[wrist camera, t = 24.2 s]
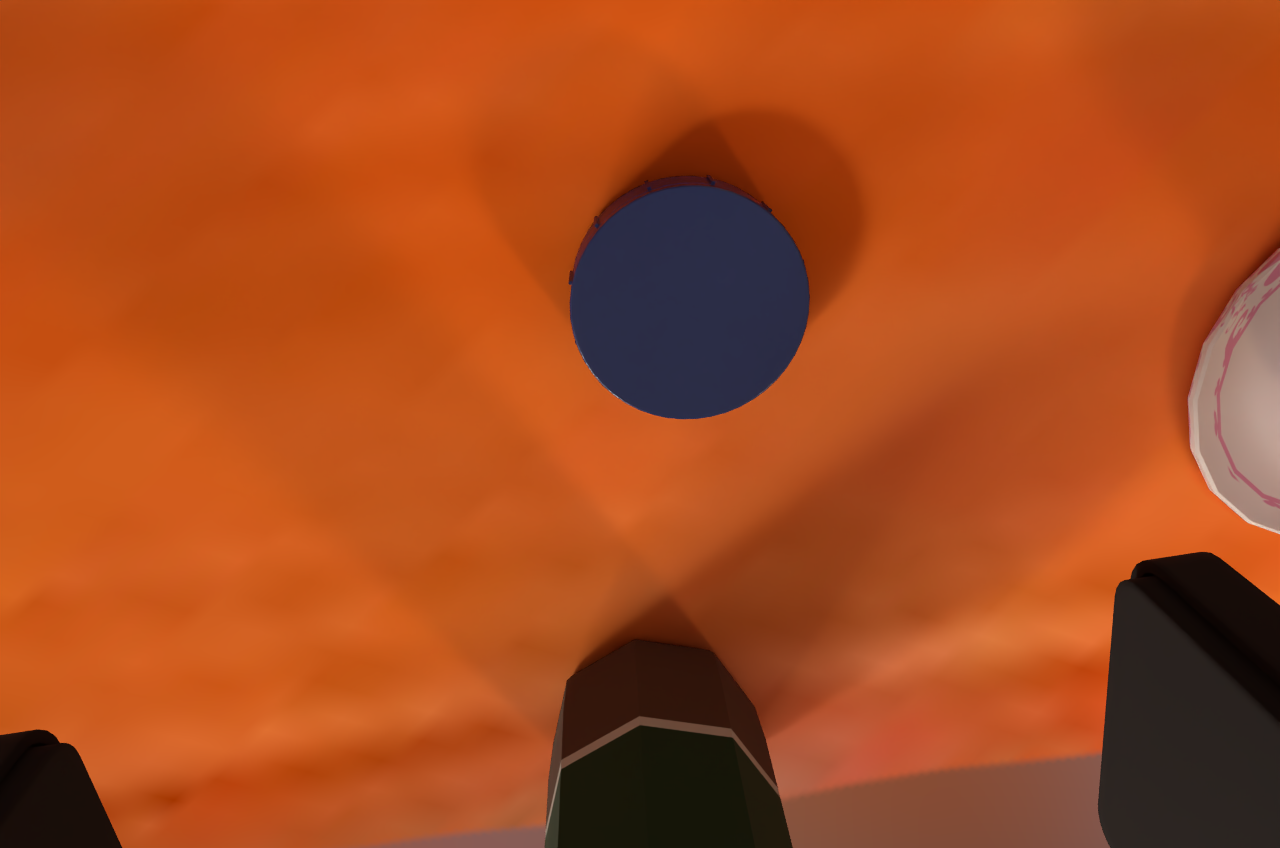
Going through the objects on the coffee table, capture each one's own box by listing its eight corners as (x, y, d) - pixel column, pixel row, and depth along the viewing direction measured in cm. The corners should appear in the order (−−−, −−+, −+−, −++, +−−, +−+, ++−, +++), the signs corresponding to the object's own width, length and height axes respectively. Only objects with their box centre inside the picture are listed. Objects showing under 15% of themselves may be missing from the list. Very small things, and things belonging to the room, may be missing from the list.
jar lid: (837, 317, 30) (853, 335, 28) (654, 435, 31) (658, 461, 29) (717, 126, 27) (727, 133, 25) (525, 263, 28) (520, 279, 27)
